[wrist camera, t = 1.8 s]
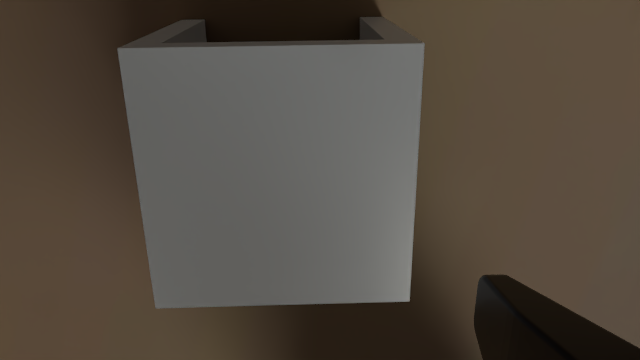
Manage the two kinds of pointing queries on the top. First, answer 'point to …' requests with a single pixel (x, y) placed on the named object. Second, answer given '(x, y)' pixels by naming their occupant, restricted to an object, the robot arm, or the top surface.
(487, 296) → the robot arm
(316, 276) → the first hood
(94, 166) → the top surface
